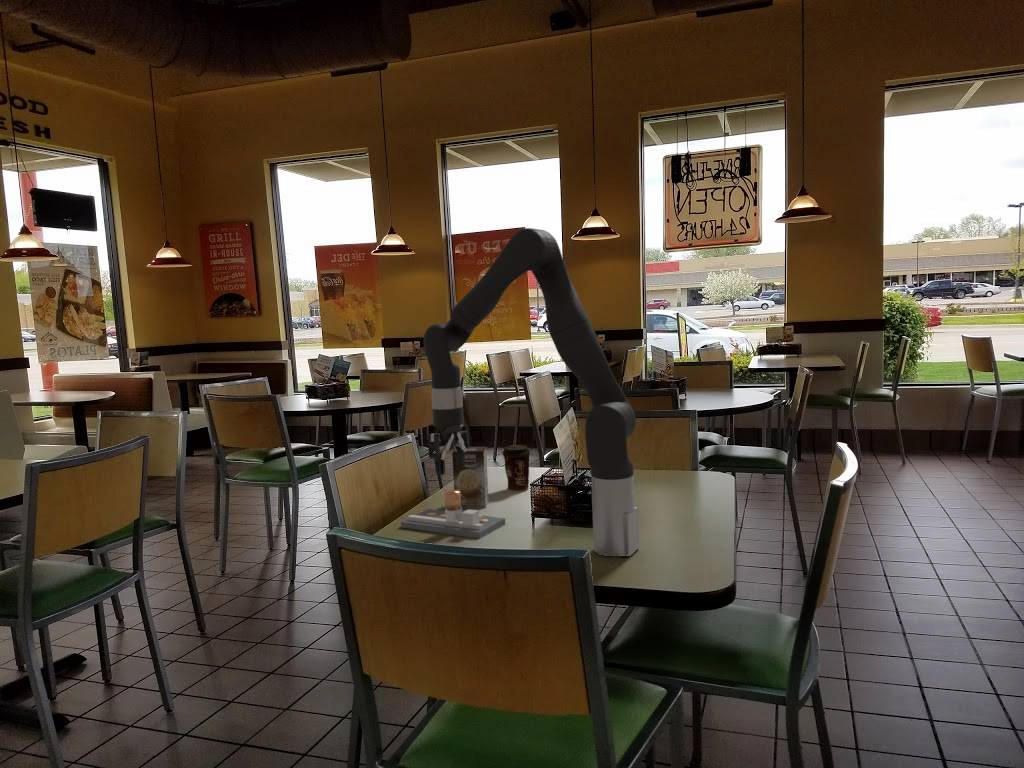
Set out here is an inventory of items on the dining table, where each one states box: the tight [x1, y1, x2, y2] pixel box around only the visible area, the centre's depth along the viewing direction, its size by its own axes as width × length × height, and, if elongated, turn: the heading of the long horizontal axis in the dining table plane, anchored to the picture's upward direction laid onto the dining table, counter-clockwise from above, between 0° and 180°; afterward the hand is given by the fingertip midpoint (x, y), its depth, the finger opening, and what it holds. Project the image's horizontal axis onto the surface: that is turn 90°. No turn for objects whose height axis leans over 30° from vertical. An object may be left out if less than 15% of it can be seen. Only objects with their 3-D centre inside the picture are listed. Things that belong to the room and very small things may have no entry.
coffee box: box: [451, 446, 490, 509], centre depth 203 cm, size 9×6×16 cm
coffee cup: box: [502, 444, 531, 493], centre depth 217 cm, size 9×8×13 cm
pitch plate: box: [400, 508, 506, 539], centre depth 185 cm, size 24×12×6 cm, turn 60°
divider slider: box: [443, 488, 468, 523], centre depth 182 cm, size 4×8×8 cm, turn 150°
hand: (450, 470), depth 179 cm, fingers open, 8 cm apart
